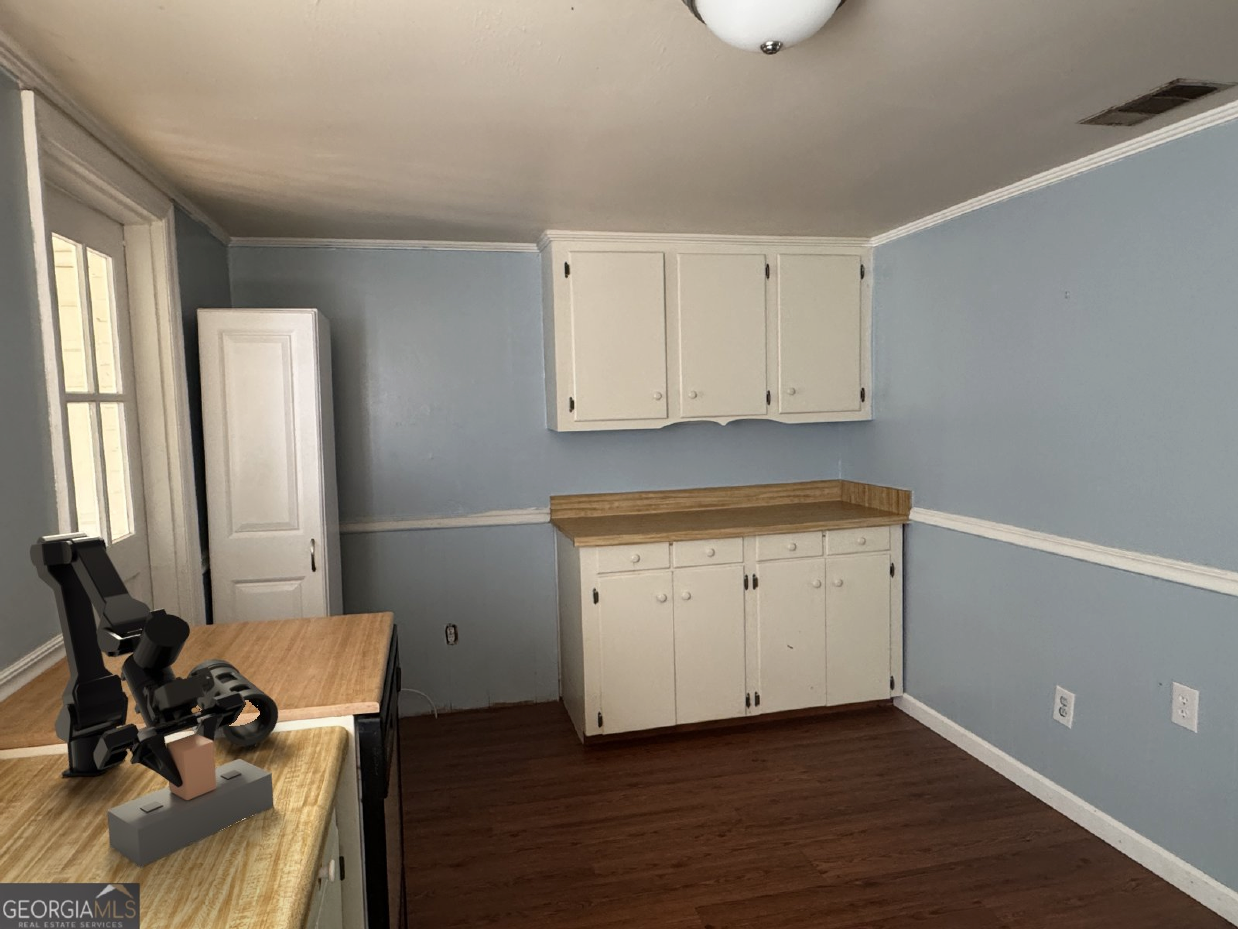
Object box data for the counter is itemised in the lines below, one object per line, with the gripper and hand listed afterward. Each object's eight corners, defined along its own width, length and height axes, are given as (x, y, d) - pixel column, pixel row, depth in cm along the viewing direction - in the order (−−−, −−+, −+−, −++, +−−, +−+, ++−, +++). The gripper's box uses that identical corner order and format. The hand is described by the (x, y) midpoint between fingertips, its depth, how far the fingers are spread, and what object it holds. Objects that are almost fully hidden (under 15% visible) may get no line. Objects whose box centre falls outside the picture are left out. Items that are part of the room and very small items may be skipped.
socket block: (109, 846, 103) (107, 808, 103) (241, 790, 118) (238, 757, 117) (140, 867, 98) (137, 828, 97) (273, 806, 112) (271, 772, 112)
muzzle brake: (223, 760, 128) (219, 700, 128) (183, 714, 149) (179, 662, 149) (282, 743, 135) (278, 685, 134) (235, 701, 156) (232, 651, 155)
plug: (171, 820, 107) (166, 743, 107) (200, 807, 111) (195, 733, 110) (188, 830, 104) (183, 752, 104) (218, 817, 108) (213, 741, 107)
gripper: (96, 674, 101) (139, 776, 95) (235, 638, 116) (280, 724, 110) (76, 719, 106) (116, 820, 100) (212, 679, 121) (254, 764, 115)
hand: (197, 779), depth 106 cm, fingers closed on plug, 4 cm apart
